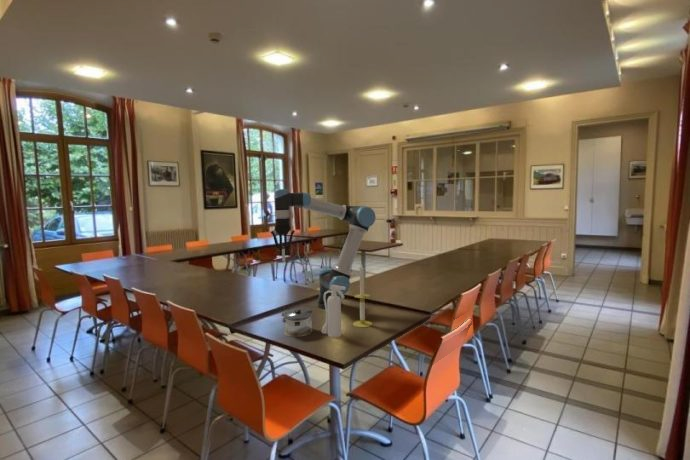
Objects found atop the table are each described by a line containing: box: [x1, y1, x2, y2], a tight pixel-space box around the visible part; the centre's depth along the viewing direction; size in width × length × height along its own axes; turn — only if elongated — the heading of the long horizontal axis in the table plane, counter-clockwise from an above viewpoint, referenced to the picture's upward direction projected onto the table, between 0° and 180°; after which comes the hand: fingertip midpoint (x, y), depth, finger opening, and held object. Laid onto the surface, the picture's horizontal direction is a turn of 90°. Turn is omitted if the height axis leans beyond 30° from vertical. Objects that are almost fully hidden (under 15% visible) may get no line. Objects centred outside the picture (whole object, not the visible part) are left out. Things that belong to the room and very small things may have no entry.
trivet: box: [284, 328, 314, 337], centre depth 179 cm, size 14×14×1 cm
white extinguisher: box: [320, 285, 346, 338], centre depth 172 cm, size 7×12×25 cm, turn 73°
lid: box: [281, 307, 313, 319], centre depth 178 cm, size 15×14×2 cm
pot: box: [282, 316, 313, 337], centre depth 179 cm, size 14×18×8 cm
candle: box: [352, 263, 373, 328], centre depth 187 cm, size 10×10×32 cm
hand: (283, 261), depth 196 cm, fingers closed
